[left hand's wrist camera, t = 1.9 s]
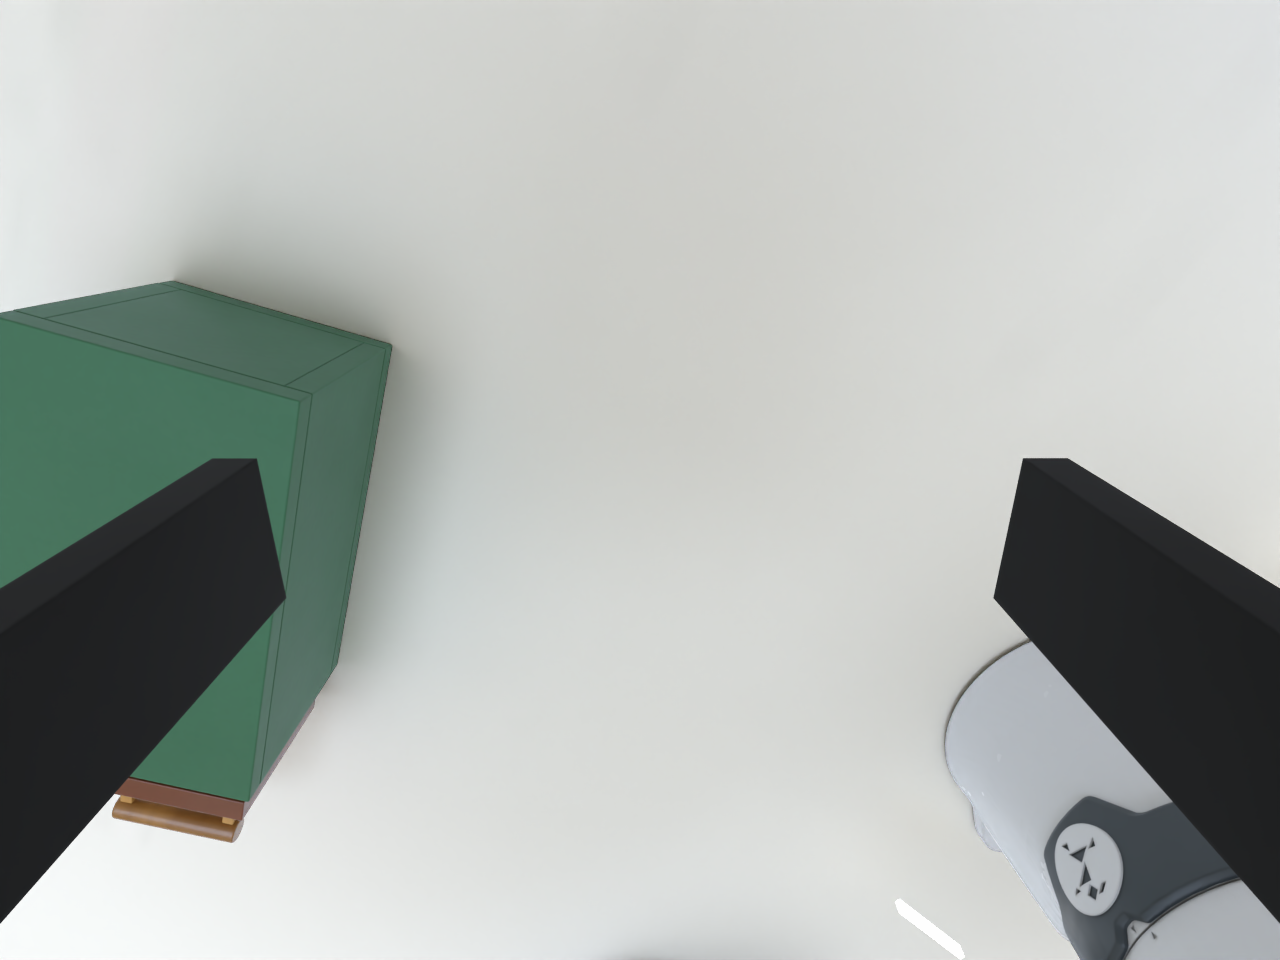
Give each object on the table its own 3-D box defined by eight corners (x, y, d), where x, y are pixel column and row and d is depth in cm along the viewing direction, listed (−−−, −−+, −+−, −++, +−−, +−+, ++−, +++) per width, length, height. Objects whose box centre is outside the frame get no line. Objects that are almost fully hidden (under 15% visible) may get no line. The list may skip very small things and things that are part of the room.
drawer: (302, 779, 43) (231, 902, 36) (146, 744, 42) (40, 863, 35) (360, 420, 35) (284, 482, 27) (167, 366, 34) (32, 415, 26)
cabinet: (337, 664, 41) (248, 803, 32) (152, 620, 40) (4, 750, 31) (392, 344, 34) (300, 401, 25) (171, 279, 33) (-14, 314, 24)
